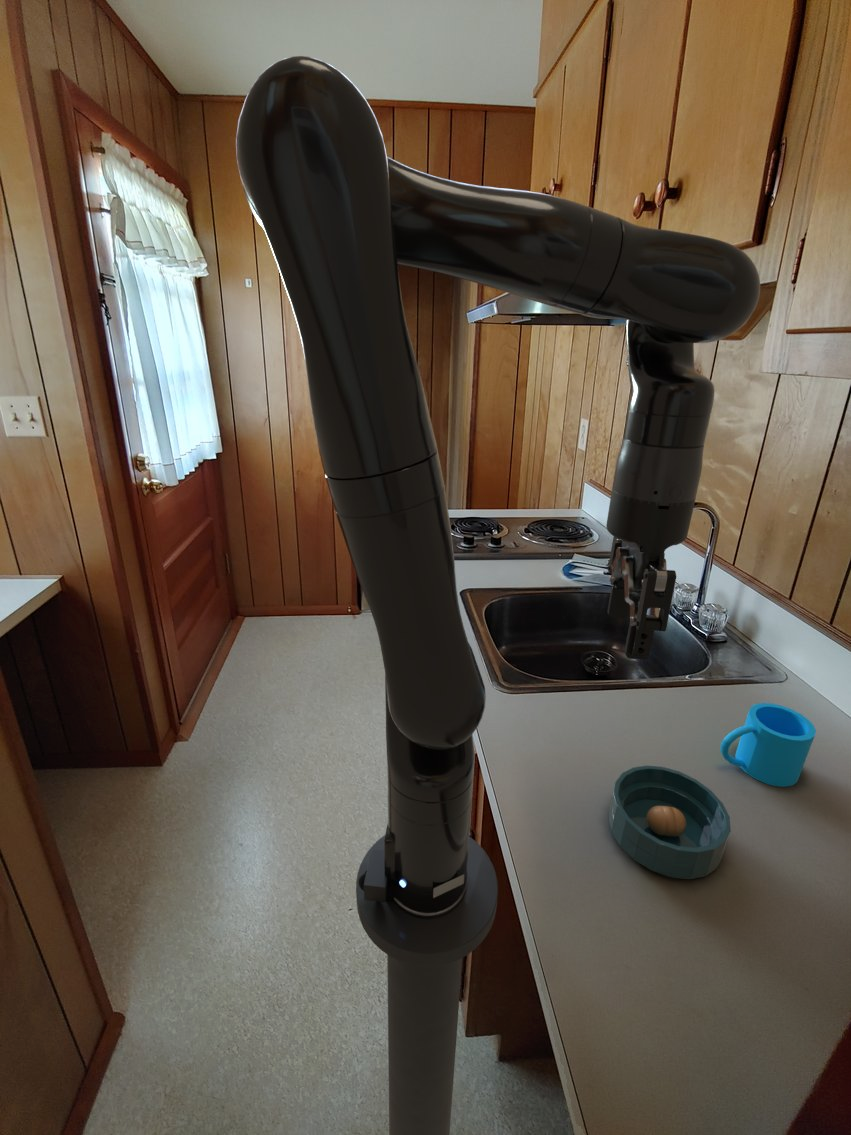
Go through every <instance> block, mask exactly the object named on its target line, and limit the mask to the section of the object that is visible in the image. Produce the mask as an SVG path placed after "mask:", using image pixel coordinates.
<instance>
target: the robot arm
mask: <svg viewBox="0 0 851 1135" xmlns="http://www.w3.org/2000/svg"><path fill="white" fill-rule="evenodd" d="M235 148H236V150H235V151H236V154H235V155H236V162H237V169H238V172H239V177H240V180H241V183H242V187H243V191H244V194H245V197H246V201H247V203H248V206H249V209H250V210H251V212H252V214H253V216H254V217H255V219H256V221H257V223H258V224H259V225H260V227H261V228H262V229H263V230H264V232H265V236H266V237H267V240H268V243H269V245H270V249H271V251H272V254H273V256H274V260H275V262H276V264H277V268H278V270H279V273H280V276H281V279H282V282H283V285H284V288H285V290H286V294H287V296H288V299H289V301H290V305H291V308H292V312H293V314H294V318H295V321H296V324H297V328H298V332H299V336H300V340H301V344H302V350H303V356H304V362H305V370H306V379H307V388H308V394H309V402H310V409H311V410H310V411H311V415H312V421H313V428H314V432H315V438H316V443H317V448H318V452H319V456H320V462H321V466H322V470H323V473H324V476H325V477H324V478H325V480H326V484H327V487H328V492H329V494H330V498H331V502H332V505H333V509H334V513H335V516H336V519H337V521H338V524H339V527H340V530H341V533H342V536H343V539H344V543H345V546H346V548H347V552H348V554H349V558H350V560H351V563H352V566H353V568H354V571H355V575H356V577H357V580H358V582H359V585H360V588H361V590H362V593H363V595H364V598H365V600H366V603H367V605H368V607H369V610H370V614H371V615H372V619H373V622H374V625H375V628H376V632H377V636H378V641H379V645H380V646H379V647H380V652H381V655H382V656H381V657H382V662H383V669H384V690H385V691H384V692H385V693H384V694H385V697H384V698H385V745H386V768H387V769H386V770H387V824H386V829H385V833H384V835H385V838H384V850H376V849H372V850H371V855H370V859H369V864H368V868H367V871H365V873H363V874H362V875H361V876H360V877H359V880H358V883H359V886H360V888H361V889H362V890H363V891H364V900H369V901H378V902H386V901H391V902H394V903H395V904H396V905H397V906H398V907H399V908H400V909H401V910H402V911H404V912H405V913H407V914H409V915H411V916H414V917H417V918H422V919H433V918H438V917H442V916H444V915H447V914H448V913H450V912H451V911H453V910H454V909H455V908H456V907H457V906H458V905H459V904H460V902H461V901H462V899H463V897H464V895H465V892H466V886H467V861H468V847H469V837H470V831H471V830H470V828H471V818H472V802H473V789H474V788H473V787H474V775H475V760H476V759H475V758H476V756H475V755H476V753H475V745H474V736H473V734H474V733H475V731H476V730H477V728H478V727H479V726H480V723H481V721H482V720H483V716H484V713H485V709H486V701H487V700H486V699H487V695H486V687H485V683H484V680H483V676H482V674H481V671H480V668H479V666H478V663H477V659H476V656H475V654H474V650H473V648H472V646H471V644H470V643H469V640H468V637H467V633H466V630H465V627H464V626H465V625H464V623H463V619H462V614H461V609H460V604H459V596H458V588H457V587H458V586H457V574H456V565H455V564H456V562H455V552H454V543H453V535H452V526H451V520H450V514H449V508H448V500H447V491H446V485H445V481H444V474H443V469H442V465H441V459H440V454H439V449H438V444H437V440H436V435H435V431H434V426H433V423H432V419H431V413H430V409H429V406H428V400H427V397H426V393H425V389H424V384H423V379H422V375H421V373H420V368H419V364H418V361H417V357H416V354H415V353H416V352H415V350H414V347H413V342H412V339H411V335H410V332H409V328H408V323H407V319H406V314H405V308H404V302H403V296H402V295H403V294H402V290H401V288H402V287H401V281H400V273H399V265H401V266H406V267H411V268H416V269H422V270H425V271H429V272H435V273H439V274H444V275H446V276H447V275H448V276H451V277H455V278H458V279H462V280H465V281H467V282H468V281H469V282H472V283H475V284H479V285H482V286H485V287H489V288H491V289H495V290H498V291H501V292H505V293H508V294H511V295H514V296H517V297H520V298H523V299H527V300H530V301H533V302H536V303H539V304H543V305H546V306H549V307H553V308H556V309H560V310H563V311H565V312H570V313H573V314H578V315H580V316H584V317H589V318H595V319H605V320H606V319H608V320H609V319H610V320H626V324H625V325H626V328H625V330H626V350H627V352H626V354H627V367H628V368H627V369H628V377H629V384H630V386H629V387H630V396H629V401H628V406H627V412H626V418H625V425H624V430H623V438H622V441H621V446H620V448H619V452H618V455H617V457H616V458H617V459H616V463H615V467H614V468H615V469H614V474H613V482H612V488H611V493H610V494H611V495H610V500H609V506H608V513H607V519H606V526H605V527H606V530H607V532H608V534H610V535H611V536H612V537H613V538H612V542H611V547H610V554H609V558H608V564H607V567H606V569H607V572H608V574H611V575H610V578H609V582H610V586H611V587H610V594H609V600H608V606H607V615H608V616H609V618H611V619H627V618H628V617H629V624H628V630H627V635H626V639H625V646H624V650H623V651H624V654H625V656H626V658H627V659H630V660H642V661H644V660H647V659H649V657H650V653H651V647H652V642H653V638H654V633H655V632H666V631H667V628H668V622H669V616H670V611H671V607H672V601H673V597H674V591H675V587H676V586H675V585H676V580H677V572H676V570H673V569H667V560H666V558H665V556H666V553H665V551H666V550H667V549H668V548H671V547H673V546H678V545H680V544H682V543H684V542H685V541H686V539H687V538H688V534H689V531H690V525H691V521H692V516H693V512H694V509H695V504H696V503H695V502H696V499H697V493H698V489H699V484H700V480H701V476H702V470H703V461H704V450H705V449H704V448H705V443H706V440H707V435H708V430H709V425H710V422H711V415H712V412H713V405H714V401H715V386H714V383H713V381H712V380H711V379H710V378H708V377H707V376H705V375H704V374H702V373H700V372H699V371H698V370H697V369H696V366H695V348H694V347H695V345H694V344H709V343H713V342H714V343H715V342H717V341H721V340H724V339H726V338H727V337H729V336H731V335H733V334H734V333H736V332H738V331H739V330H740V329H741V328H742V327H743V326H744V325H745V324H746V323H747V322H748V321H749V319H750V317H752V315H753V313H754V312H755V309H756V307H757V306H758V302H759V299H760V294H761V279H760V274H759V271H758V269H757V267H756V265H755V263H754V261H753V260H752V258H750V257H749V254H747V253H746V252H745V251H744V250H742V249H740V248H738V246H736V245H734V244H731V243H729V242H726V241H724V240H721V239H717V238H712V237H709V236H708V237H707V236H703V235H697V234H691V233H687V232H681V231H675V230H668V229H660V228H652V227H647V226H641V225H638V224H634V223H631V222H630V221H627V220H626V219H623V218H621V217H618V216H616V215H613V214H610V213H607V212H605V211H602V210H599V209H596V208H595V207H592V206H588V205H585V204H582V203H579V202H576V201H573V200H569V199H566V198H563V197H559V196H555V195H551V194H546V193H542V192H535V191H529V190H522V189H521V190H520V189H512V188H502V187H493V186H485V185H476V184H471V183H464V182H460V181H456V180H455V181H454V180H451V179H446V178H443V177H438V176H435V175H431V174H428V173H425V172H423V171H420V170H417V169H414V168H411V167H409V166H407V165H405V164H403V163H401V162H399V161H397V160H394V159H392V158H391V157H388V156H387V150H386V146H385V142H384V137H383V133H382V131H381V129H380V125H379V123H378V120H377V118H376V116H375V113H374V112H373V109H372V108H371V106H370V104H369V103H368V101H367V99H366V98H365V96H364V95H363V93H362V92H361V91H360V89H359V88H358V87H357V86H356V85H355V84H354V82H352V80H350V79H349V78H348V76H346V75H345V74H344V73H343V72H342V71H340V70H339V69H338V68H336V67H334V66H333V65H332V64H329V63H327V62H326V61H323V60H321V59H319V58H315V57H311V56H307V55H306V56H304V55H295V56H289V57H285V58H283V59H280V60H277V61H275V62H274V63H273V64H271V65H270V66H268V67H267V68H266V69H265V70H263V72H262V73H261V74H259V76H258V77H257V78H256V80H255V81H254V82H253V84H252V86H251V88H250V90H249V91H248V93H247V96H246V97H245V100H244V103H243V106H242V109H241V112H240V114H239V118H238V122H237V131H236V137H235ZM638 592H640V593H638ZM649 609H650V614H648V610H649Z"/></svg>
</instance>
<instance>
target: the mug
mask: <svg viewBox="0 0 851 1135" xmlns="http://www.w3.org/2000/svg"><path fill="white" fill-rule="evenodd" d="M816 733H817V730H816V728H815V725H814V724H813V723H812V721H811V720H810V719H808V718H807V717H806V716H804V715H803V714H802V713H800V712H798V711H796V710H794V709H792V708H790V707H787V706H783V705H780V704H776V703H771V702H760V703H755V704H753V705H752V706H750V708H749V710H748V712H747V716H746V719H745V722H744V725H743V726H740V727H737V728H735V729H733V730H732V731H730V732H729V733H728V734H727V735H726V736H724V737H723V740H722V741H721V743H720V753H721V755H722V757H723V759H724V760H726V761H727V762H728V763H730V764H732V765H735V766H738V767H739V768H741V770H743V772H745V773H746V774H747V775H749V776H750V777H751V778H753V779H755V780H757V781H759V782H761V783H764V784H766V785H770V786H772V787H773V786H774V787H780V788H781V787H784V788H787V787H791V786H794V785H796V784H797V783H798V781H799V779H800V776H801V774H802V771H803V769H804V766H805V763H806V760H807V757H808V755H809V753H810V750H811V746H812V744H813V741H814V739H815V736H816ZM737 739H739V742H738V745H737V748H736V752H735V754H734V756H735V757H733V756H731V754H730V752H729V749H730V747H731V745H732V744H733V742H735V741H736V740H737Z"/></svg>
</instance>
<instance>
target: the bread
mask: <svg viewBox="0 0 851 1135" xmlns="http://www.w3.org/2000/svg"><path fill="white" fill-rule="evenodd" d="M647 824H648V826H649V827H650V829H651V830H652V831H653V832H655V833H656V834H658V835H662V836H672V837H675V836H679V835H681V834H682V833H683V832H684V831H685V829H686V819H685V817H684V815H683V814H682V812H680V811H679V810H678V809H676V808H674V807H669V806H654V807H652V808H651V809H650V810H649V811H648V813H647Z"/></svg>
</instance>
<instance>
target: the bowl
mask: <svg viewBox="0 0 851 1135" xmlns="http://www.w3.org/2000/svg"><path fill="white" fill-rule="evenodd" d="M654 806H669V807H674V808H676V809H678V810H679V811H680V812H682V814H683V815H684V817H685V819H686V829H685V831H684V832H683V833H682V834H681V835H679V836H675V837H672V836H662V835H658V834H656V833H655V832H653V831H652V830H651V829H650V827H649V826H648V824H647V813H648V811H649V810H650V809H651V808H652V807H654ZM607 819H608V825H609V828H610V832H611V834H612V836H613V837H614V839H615V841H616V842H617V844H618V845H619V847H620V848H621V849H622V850H623V851H624V852H625V853H627V855H629V857H631V859H633V860H634V861H635V862H637V863H638V864H640V865H642V867H644V868H647V870H650V871H651V872H654V873H657V874H660V875H662V876H666V877H669V878H672V879H683V880H694V879H697V878H699V879H700V878H703V877H707V876H708V875H709V874H711V873H712V872H714V871H715V870H716V869H718V868H719V865H720V863H721V861H722V858H723V856H724V852H725V850H726V848H727V843H728V840H729V837H730V834H731V830H732V829H731V818H730V815H729V813H728V810H727V809H726V807H725V805H724V803H723V802H722V801H721V800H720V799H719V797H718V796H717V795H716V794H715V792H713V791H712V790H711V789H710V788H709V787H707V786H705V785H704V784H703V783H702V782H700V781H699V780H698V779H696V778H694V777H692V776H689V775H688V774H686V773H684V772H681V771H679V770H676V769H672V768H668V767H665V766H657V765H640V766H634V767H631V768H629V769H627V770H625V771H623V772H622V773H621V774H620V775H619V777H618V778H617V779H616V780H615V782H614V786H613V791H612V796H611V800H610V805H609V811H608V817H607Z"/></svg>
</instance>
